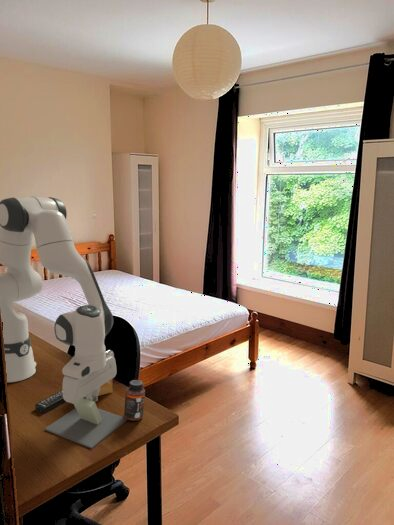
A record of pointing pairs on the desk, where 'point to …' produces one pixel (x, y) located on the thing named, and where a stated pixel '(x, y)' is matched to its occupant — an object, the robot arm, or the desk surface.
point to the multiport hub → (50, 402)
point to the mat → (85, 427)
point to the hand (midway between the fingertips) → (92, 402)
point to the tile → (88, 411)
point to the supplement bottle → (134, 401)
